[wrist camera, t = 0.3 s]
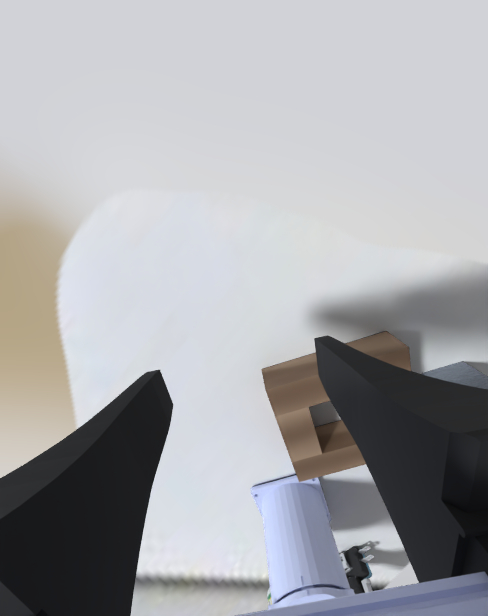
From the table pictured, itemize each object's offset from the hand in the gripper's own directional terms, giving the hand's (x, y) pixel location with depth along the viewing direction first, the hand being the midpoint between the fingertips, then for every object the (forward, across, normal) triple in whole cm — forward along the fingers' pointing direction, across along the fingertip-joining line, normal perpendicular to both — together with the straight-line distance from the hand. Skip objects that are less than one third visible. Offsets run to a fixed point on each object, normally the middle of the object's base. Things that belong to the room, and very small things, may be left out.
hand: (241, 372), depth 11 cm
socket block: (+10, -8, +12) cm, 18 cm away
